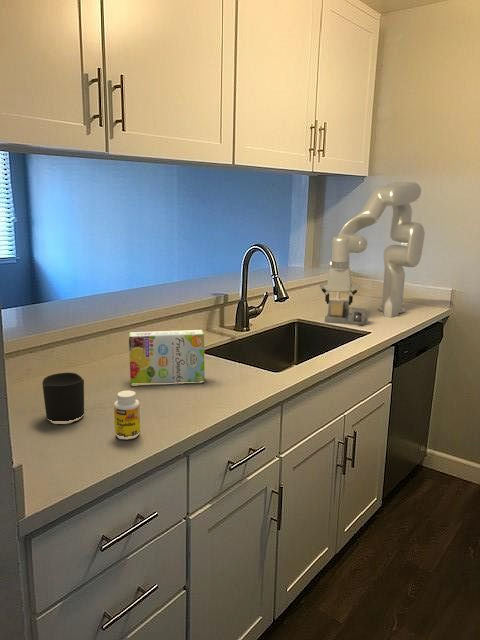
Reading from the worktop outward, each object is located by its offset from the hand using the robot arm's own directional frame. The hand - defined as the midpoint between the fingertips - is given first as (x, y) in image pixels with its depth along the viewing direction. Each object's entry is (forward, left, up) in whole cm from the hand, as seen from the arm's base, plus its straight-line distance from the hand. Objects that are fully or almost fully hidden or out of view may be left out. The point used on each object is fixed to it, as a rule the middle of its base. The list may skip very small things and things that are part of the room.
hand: (338, 303), depth 233 cm
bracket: (+1, +3, -7) cm, 8 cm away
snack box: (+98, -38, -8) cm, 105 cm away
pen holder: (+129, -51, -8) cm, 139 cm away
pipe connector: (-20, -2, -7) cm, 22 cm away
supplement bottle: (+133, -32, -7) cm, 137 cm away
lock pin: (+4, +9, -5) cm, 11 cm away
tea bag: (-16, +23, -8) cm, 29 cm away
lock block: (+1, 0, -6) cm, 6 cm away
